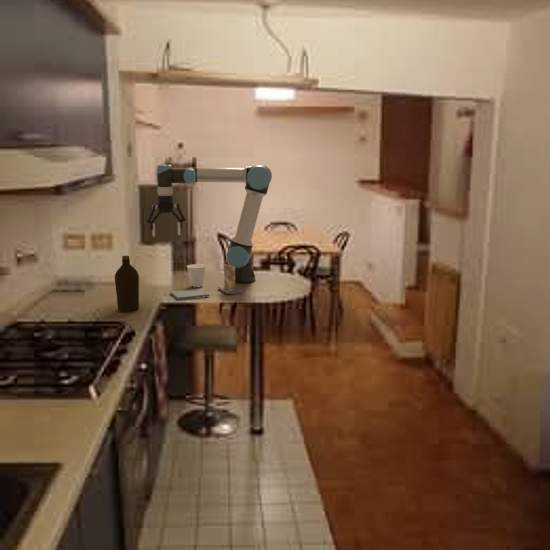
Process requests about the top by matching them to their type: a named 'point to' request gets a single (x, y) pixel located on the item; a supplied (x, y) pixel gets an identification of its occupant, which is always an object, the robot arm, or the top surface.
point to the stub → (229, 280)
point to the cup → (196, 274)
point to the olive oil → (127, 287)
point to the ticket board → (189, 294)
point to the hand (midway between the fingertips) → (166, 235)
